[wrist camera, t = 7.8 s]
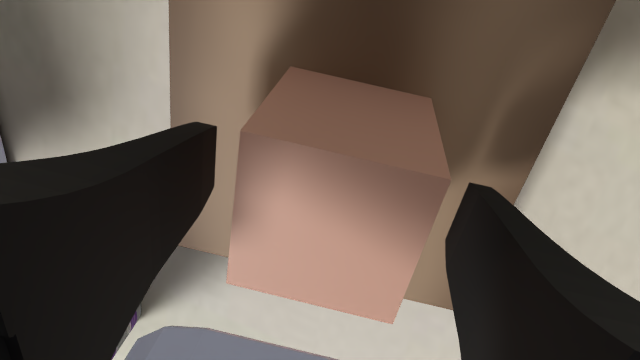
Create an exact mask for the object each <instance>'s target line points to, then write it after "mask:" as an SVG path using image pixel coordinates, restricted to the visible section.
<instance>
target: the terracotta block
mask: <svg viewBox="0 0 640 360" xmlns="http://www.w3.org/2000/svg"><path fill="white" fill-rule="evenodd" d="M450 182H451V176H450V172H449V168H448V164H447V160H446V156H445V152H444V148H443V144H442V140H441V136H440V132H439V127H438V123H437V119H436V115H435V111H434V107H433V103H432V99H431V98H428V97H423V96H419V95H414V94H410V93H406V92H401V91H397V90H392V89H388V88H384V87H379V86H375V85H370V84H366V83H362V82H357V81H353V80H348V79H344V78H340V77H335V76H331V75H327V74H322V73H318V72H313V71H309V70H305V69H300V68H296V67H291V66H290V68H289V69H288V70H287V72H286V73H285V74H284V75H283V77H282V78H281V79H280V80H279V82H278V83H277V84H276V86H275V87H274V88H273V89H272V91H271V92H270V93H269V94H268V96H267V97H266V98H265V100H264V101H263V102H262V103H261V105H260V106H259V107H258V108H257V110H256V111H255V112H254V114H253V115H252V116H251V117H250V119H249V120H248V121H247V123H246V124H245V125H244V126H243V128H242V129H241V130H240V139H239V150H238V161H237V172H236V182H235V193H234V204H233V215H232V226H231V237H230V248H229V259H228V270H227V280H226V283H227V284H231V285H235V286H239V287H244V288H248V289H252V290H256V291H260V292H264V293H268V294H272V295H276V296H280V297H284V298H288V299H292V300H296V301H300V302H304V303H308V304H312V305H317V306H321V307H325V308H329V309H333V310H337V311H341V312H345V313H349V314H353V315H357V316H361V317H365V318H369V319H373V320H377V321H381V322H385V323H390V324H393V322H394V319H395V317H396V315H397V312H398V310H399V307H400V305H401V302H402V300H403V297H404V295H405V293H406V290H407V288H408V285H409V283H410V280H411V278H412V275H413V273H414V270H415V268H416V266H417V263H418V261H419V258H420V256H421V253H422V251H423V248H424V246H425V243H426V241H427V239H428V236H429V234H430V231H431V229H432V226H433V224H434V221H435V219H436V216H437V214H438V212H439V209H440V207H441V204H442V202H443V199H444V197H445V194H446V192H447V189H448V187H449V185H450Z"/></svg>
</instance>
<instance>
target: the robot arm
mask: <svg viewBox="0 0 640 360" xmlns="http://www.w3.org/2000/svg"><path fill="white" fill-rule="evenodd" d="M216 140H217V126H214V125H210V124H205V123H201V122H191V123H187V124H183V125H180V126H177V127H173V128H170V129H167V130H164V131H161V132H158V133H155V134H151V135H148V136H145V137H142V138H139V139H135V140H132V141H128V142H124V143H121V144H117V145H114V146H110V147H106V148H102V149H98V150H93V151H89V152H83V153H78V154H73V155H67V156H61V157H54V158H45V159H37V160H29V161H20V162H9V163H7V160H6V156H5V152H4V148H3V144H2V140H1V136H0V360H111V358H112V356H113V354H114V352H115V350H116V348H117V346H118V344H119V342H120V340H121V338H122V337H123V335H124V333H125V331H126V329H127V327H128V325H129V323H130V321H131V320H132V318H133V316H134V314H135V312H136V310H137V308H138V307H139V305H140V303H141V301H142V299H143V298H144V296H145V294H146V292H147V291H148V289H149V287H150V285H151V283H152V282H153V280H154V279H155V277H156V276H157V274H158V272H159V271H160V269H161V268H162V267H163V265H164V264H165V262H166V261H167V260H168V258H169V257H170V256H171V254H172V253H173V251H174V250H175V249H176V247H177V246H178V245H179V243H180V242H181V240H182V239H183V238H184V236H185V235H186V234H187V232H188V231H189V229H190V228H191V227H192V225H193V224H194V222H195V221H196V220H197V218H198V217H199V215H200V214H201V212H202V210H203V208H204V206H205V205H206V203H207V201H208V199H209V197H210V195H211V193H212V190H213V188H214V183H215V162H216ZM445 260H446V273H447V279H448V284H449V290H450V295H451V301H452V306H453V311H454V316H455V322H456V327H457V332H458V338H459V344H460V352H461V360H640V302H639V301H638V300H636V299H634V298H633V297H631V296H629V295H628V294H626V293H624V292H623V291H621V290H620V289H618V288H616V287H615V286H613V285H612V284H610V283H609V282H607V281H606V280H604V279H603V278H601V277H600V276H599V275H597V274H596V273H594V272H593V271H591V270H590V269H589V268H587V267H586V266H584V265H583V264H582V263H580V262H579V261H578V260H576V259H575V258H574V257H572V256H571V255H570V254H569V253H567V252H566V251H565V250H564V249H562V248H561V247H560V246H559V245H557V244H556V243H555V242H554V241H553V240H551V239H550V238H549V237H548V236H547V235H546V234H544V233H543V232H542V231H541V230H540V229H539V228H538V227H536V226H535V225H534V224H533V223H532V222H531V221H530V220H529V219H528V218H527V217H525V216H524V215H523V214H522V213H521V212H520V211H519V210H518V209H517V208H516V207H515V206H513V205H512V204H511V203H510V202H509V201H508V200H507V199H506V198H505V197H503V196H502V195H501V194H500V193H499V192H497V191H496V190H495V189H493V188H492V187H488V186H484V185H479V184H475V183H470V182H469V184H468V186H467V189H466V191H465V193H464V196H463V198H462V200H461V203H460V205H459V208H458V210H457V212H456V215H455V217H454V220H453V222H452V224H451V227H450V229H449V231H448V234H447V236H446V239H445ZM125 360H338V359H334V358H330V357H325V356H321V355H317V354H313V353H309V352H305V351H301V350H296V349H292V348H288V347H284V346H280V345H276V344H272V343H268V342H263V341H259V340H255V339H251V338H247V337H243V336H239V335H235V334H230V333H226V332H222V331H218V330H214V329H210V328H200V327H183V326H167V327H163V328H161V329H159V330H156V331H154V332H152V333H150V334H148V335H145V336H143V337H141V338H139V339H137V341H136V342H135V344H134V345H133V347H132V349H131V350H130V352H129V353H128V355H127V357H126V358H125Z"/></svg>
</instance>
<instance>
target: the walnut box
mask: <svg viewBox="0 0 640 360" xmlns="http://www.w3.org/2000/svg"><path fill="white" fill-rule="evenodd" d="M615 1H616V0H169V50H170V114H171V128H173V127H177V126H180V125H183V124H187V123H191V122H201V123H205V124H210V125H214V126H217V140H216V162H215V183H214V188H213V190H212V193H211V195H210V197H209V199H208V201H207V203H206V205H205V206H204V208H203V210H202V212H201V214H200V215H199V217H198V218H197V220H196V221H195V222H194V224H193V225H192V227H191V228H190V229H189V231H188V232H187V234H186V235H185V236H184V238H183V239H182V240H181V242H180V243H179V245H178V246H182V247H186V248H190V249H195V250H199V251H203V252H208V253H212V254H216V255H220V256H225V257H229V248H230V237H231V226H232V215H233V204H234V193H235V182H236V172H237V161H238V150H239V139H240V130H241V129H242V128H243V126H244V125H245V124H246V123H247V121H248V120H249V119H250V117H251V116H252V115H253V114H254V112H255V111H256V110H257V108H258V107H259V106H260V105H261V103H262V102H263V101H264V100H265V98H266V97H267V96H268V94H269V93H270V92H271V91H272V89H273V88H274V87H275V86H276V84H277V83H278V82H279V80H280V79H281V78H282V77H283V75H284V74H285V73H286V72H287V70H288V69H289V68H290V66H291V67H296V68H300V69H305V70H309V71H313V72H318V73H322V74H327V75H331V76H335V77H340V78H344V79H348V80H353V81H357V82H362V83H366V84H370V85H375V86H379V87H384V88H388V89H392V90H397V91H401V92H406V93H410V94H414V95H419V96H423V97H428V98H431V99H432V103H433V107H434V111H435V115H436V119H437V123H438V127H439V132H440V136H441V140H442V144H443V148H444V152H445V156H446V160H447V164H448V168H449V172H450V176H451V182H450V185H449V187H448V189H447V192H446V194H445V197H444V199H443V202H442V204H441V207H440V209H439V212H438V214H437V216H436V219H435V221H434V224H433V226H432V229H431V231H430V234H429V236H428V239H427V241H426V243H425V246H424V248H423V251H422V253H421V256H420V258H419V261H418V263H417V266H416V268H415V270H414V273H413V275H412V278H411V280H410V283H409V285H408V288H407V290H406V293H405V295H404V297H403V299H408V300H412V301H416V302H420V303H425V304H429V305H433V306H437V307H442V308H446V309H450V310H453V306H452V301H451V295H450V290H449V284H448V279H447V273H446V260H445V239H446V236H447V234H448V231H449V229H450V227H451V224H452V222H453V220H454V217H455V215H456V212H457V210H458V208H459V205H460V203H461V200H462V198H463V196H464V193H465V191H466V189H467V186H468V184H469V182H470V183H475V184H479V185H484V186H488V187H492V188H493V189H495V190H496V191H497V192H499V193H500V194H501V195H502V196H503V197H505V198H506V199H507V200H508V201H509V202H510V203H511V204H512V205H514V203H515V201H516V199H517V197H518V195H519V193H520V191H521V189H522V187H523V185H524V183H525V181H526V179H527V177H528V175H529V173H530V171H531V169H532V167H533V165H534V163H535V161H536V159H537V157H538V155H539V153H540V151H541V149H542V147H543V145H544V143H545V141H546V139H547V137H548V135H549V133H550V131H551V129H552V127H553V125H554V123H555V121H556V119H557V117H558V115H559V113H560V111H561V109H562V107H563V105H564V103H565V101H566V99H567V97H568V95H569V93H570V91H571V89H572V87H573V85H574V83H575V81H576V79H577V77H578V75H579V73H580V71H581V69H582V67H583V65H584V63H585V61H586V59H587V57H588V55H589V53H590V51H591V49H592V47H593V45H594V43H595V41H596V39H597V37H598V35H599V33H600V31H601V29H602V27H603V25H604V23H605V21H606V19H607V17H608V15H609V13H610V11H611V9H612V7H613V5H614V3H615Z"/></svg>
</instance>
